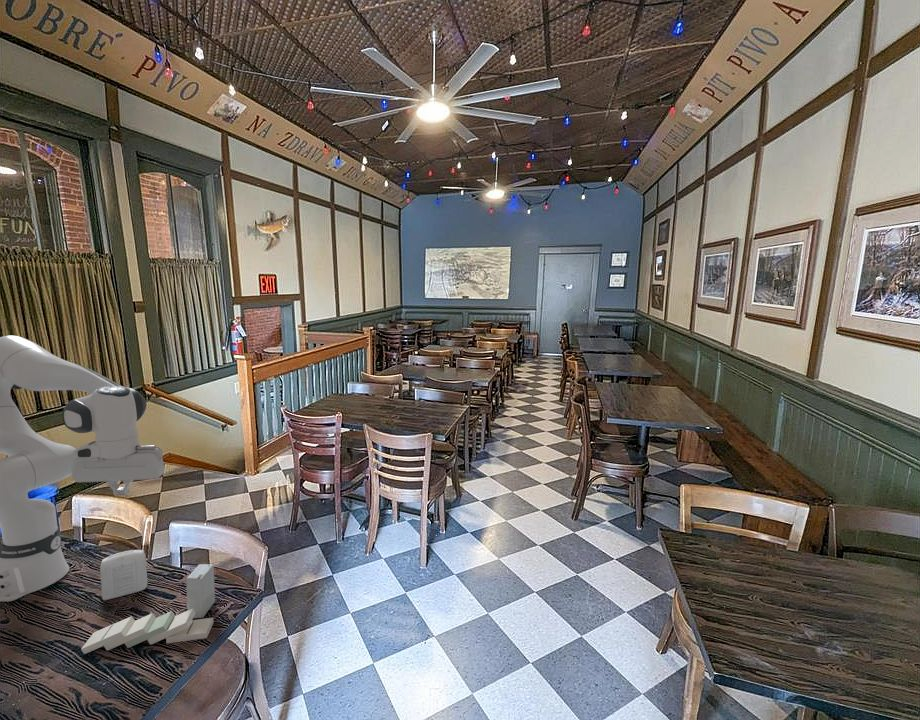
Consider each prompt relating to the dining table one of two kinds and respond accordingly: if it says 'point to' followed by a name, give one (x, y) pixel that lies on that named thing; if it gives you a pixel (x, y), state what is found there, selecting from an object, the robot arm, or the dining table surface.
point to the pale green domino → (154, 629)
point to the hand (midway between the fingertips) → (121, 494)
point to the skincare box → (201, 589)
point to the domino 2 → (134, 631)
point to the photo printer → (123, 574)
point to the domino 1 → (108, 635)
